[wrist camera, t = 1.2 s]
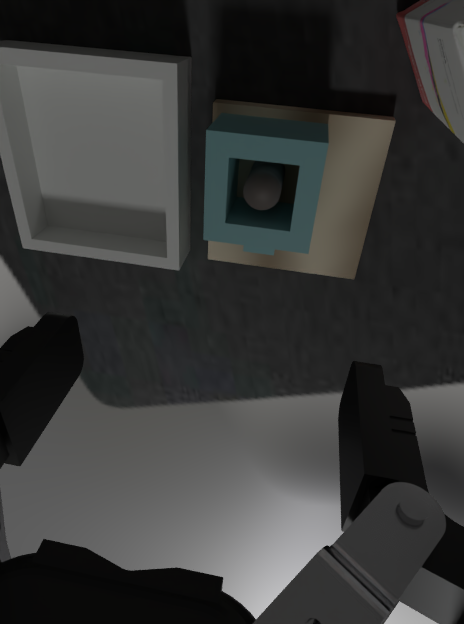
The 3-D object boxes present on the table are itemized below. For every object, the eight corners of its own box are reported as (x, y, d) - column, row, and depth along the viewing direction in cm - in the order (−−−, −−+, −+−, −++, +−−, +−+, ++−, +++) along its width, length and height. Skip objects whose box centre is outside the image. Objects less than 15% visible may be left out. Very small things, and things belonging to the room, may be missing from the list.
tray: (191, 57, 25) (177, 63, 22) (190, 249, 32) (179, 270, 29) (6, 39, 26) (-27, 44, 23) (45, 229, 33) (23, 248, 30)
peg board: (393, 116, 25) (404, 137, 21) (353, 271, 31) (357, 309, 27) (216, 99, 26) (198, 115, 22) (211, 252, 32) (196, 285, 28)
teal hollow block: (328, 123, 24) (328, 143, 21) (305, 252, 29) (302, 284, 26) (221, 112, 25) (206, 129, 22) (215, 240, 30) (202, 270, 27)
